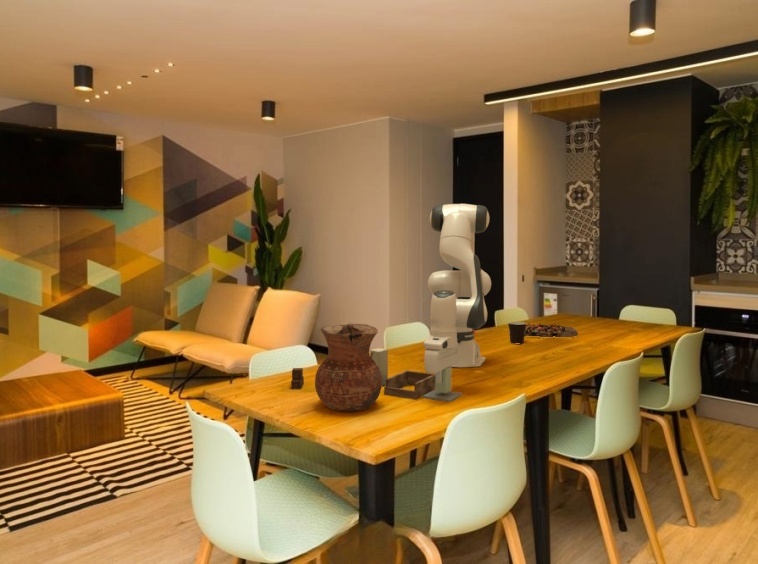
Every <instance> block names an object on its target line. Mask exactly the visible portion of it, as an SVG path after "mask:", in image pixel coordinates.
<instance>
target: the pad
mask: <svg viewBox="0 0 758 564" xmlns="http://www.w3.org/2000/svg"><path fill="white" fill-rule="evenodd" d="M463 395H464V394H463V392H457V391H452V390H451V391H449V392H447V393H442V392H435V390H433V391H431V392H429V393H427V394H425V395H423V396H422V398H423V399H428V400H436V401H441V402H447V403H452V402H453V401H455V400H456V399H459V397H460V398H461V396H463Z"/></svg>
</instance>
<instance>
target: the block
mask: <svg viewBox="0 0 758 564" xmlns="http://www.w3.org/2000/svg"><path fill="white" fill-rule="evenodd" d="M441 375H442V377H443V382H442V383H437V382H436V376H435V392H442V393H447V392H449V391H452V369H451V367H448V368H446V369H443V370H442V373H441Z"/></svg>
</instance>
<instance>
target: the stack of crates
mask: <svg viewBox="0 0 758 564" xmlns="http://www.w3.org/2000/svg"><path fill="white" fill-rule="evenodd" d="M303 371H304V368H303V367H293V368H292V369H291V375H292V376H291V381H290V382H291V383H290V386H291V387H290V389H291V390H301V389H302V388H303V387H304V384H305V379H304V378H305V377H304V372H303Z"/></svg>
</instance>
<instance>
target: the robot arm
mask: <svg viewBox="0 0 758 564" xmlns="http://www.w3.org/2000/svg"><path fill="white" fill-rule="evenodd" d="M429 223H430V225H431V228H432V229H433V230H434V231H435V232H438V233H440V236H439V238H440V239H439V255H440V258H441V259H442V260H443V261H444V262H445V263H446V264H448V265H449V266H450V267H453V268H455V269H457V270H448V269H447V270H438V271H434V272H432V273H431V274H430V276H428V279H427V287H428V288H427V289H428V290H429V292H430V293H431V302H430V309H429V311H430V312H429V313H430V314H429V318H430V322H431V323H430V325H431V326H430V329H429V330H430V331H429V335H428V337H427V338H426V339H425V340H424V342H423V348H424V349H425V350H424V370H425V371H426V372H425V373H430V374H435V376H436V382H437V383H442V382H443V377H442V375H441V373H442V370H443V369H446V368H448V367H451V370H452V368H471V367H472V368H473V367H476V368H478V367H481V366H482V364H483V363H484V362H485V361H486V360H487V359H486V357H485V356H481V346H480V345H479V344H478V342H477V341H476V340H475V335H476V330H478V329H481V327H483V326H484V325H486V323H487V320H488V309H487V306H486V302H485V296H487V294H488V293H489V292H490V291H491V288H492V280H491V277H490V275H489V274H488V273H487V272H485V271H484V270H483V269H482V267H481V262H480V259H479V257H478V255H476V254H475V239H476V238H475V234H480V233H484V232H485V231H486V230H487V228H488V226H489V223H490V214H489V211H488V208H487V207H486V206H485V205H482V204H481V205H480V204H477V205H476V204H470V203H469V204H468V203H448V204H443V203H441V204H436V205H434V206H433V207H432V209H431V211H430V214H429ZM463 298H464V299H463ZM467 298H468V299H467Z"/></svg>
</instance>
